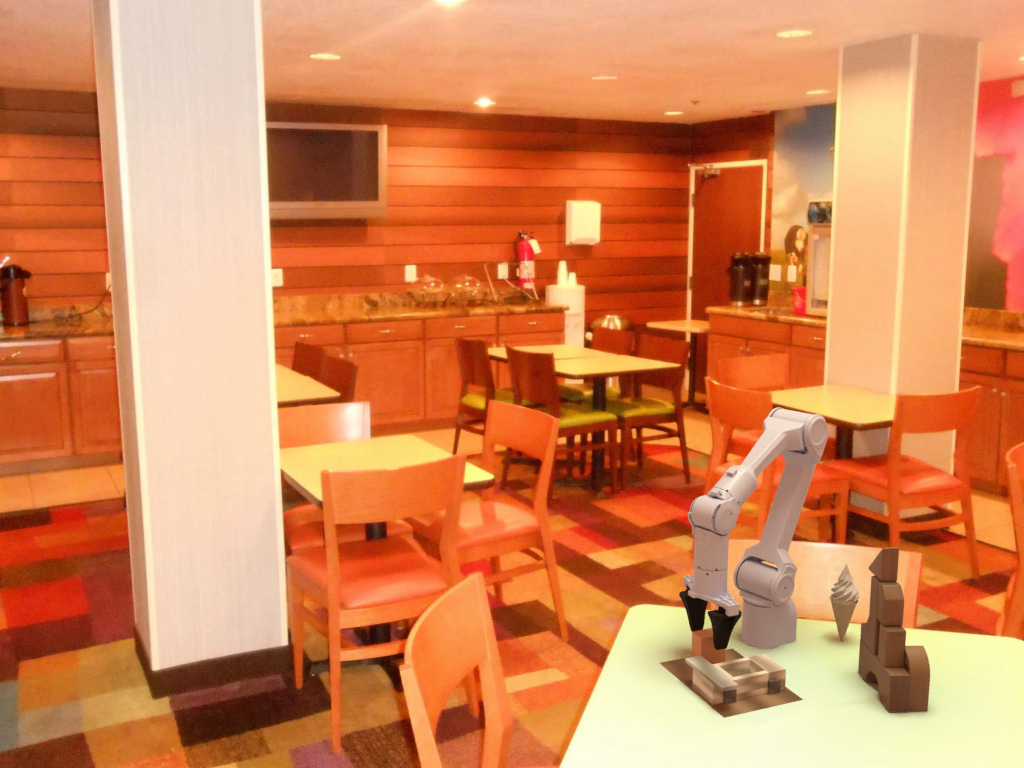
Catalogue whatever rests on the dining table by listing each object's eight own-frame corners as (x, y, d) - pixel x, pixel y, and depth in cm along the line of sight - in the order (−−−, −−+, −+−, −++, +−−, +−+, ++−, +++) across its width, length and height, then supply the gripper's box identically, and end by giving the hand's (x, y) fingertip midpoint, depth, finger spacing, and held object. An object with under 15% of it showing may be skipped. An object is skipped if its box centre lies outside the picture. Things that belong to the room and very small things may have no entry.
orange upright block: (715, 656, 169) (716, 627, 168) (725, 663, 167) (726, 633, 166) (691, 661, 168) (691, 631, 167) (700, 668, 165) (701, 638, 164)
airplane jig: (732, 653, 172) (733, 627, 172) (802, 705, 154) (804, 675, 153) (659, 668, 167) (660, 640, 166) (723, 723, 149) (724, 693, 148)
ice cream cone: (859, 646, 175) (864, 568, 172) (832, 646, 175) (836, 568, 172) (850, 634, 180) (855, 558, 177) (823, 634, 180) (827, 558, 177)
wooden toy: (930, 712, 152) (941, 563, 147) (888, 712, 152) (897, 563, 147) (892, 667, 167) (901, 530, 162) (854, 667, 167) (861, 531, 162)
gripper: (669, 554, 169) (667, 626, 172) (714, 583, 156) (711, 660, 158) (703, 549, 172) (701, 620, 174) (750, 577, 158) (747, 653, 161)
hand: (708, 639), depth 166 cm, fingers open, 7 cm apart
